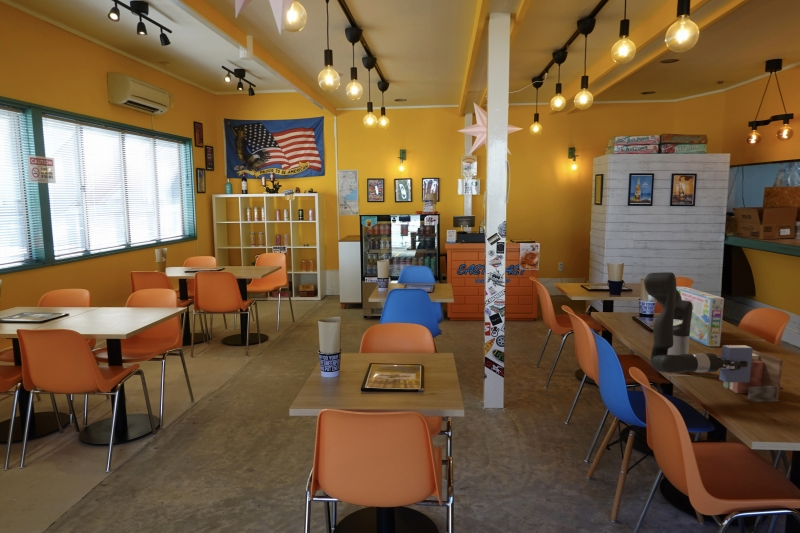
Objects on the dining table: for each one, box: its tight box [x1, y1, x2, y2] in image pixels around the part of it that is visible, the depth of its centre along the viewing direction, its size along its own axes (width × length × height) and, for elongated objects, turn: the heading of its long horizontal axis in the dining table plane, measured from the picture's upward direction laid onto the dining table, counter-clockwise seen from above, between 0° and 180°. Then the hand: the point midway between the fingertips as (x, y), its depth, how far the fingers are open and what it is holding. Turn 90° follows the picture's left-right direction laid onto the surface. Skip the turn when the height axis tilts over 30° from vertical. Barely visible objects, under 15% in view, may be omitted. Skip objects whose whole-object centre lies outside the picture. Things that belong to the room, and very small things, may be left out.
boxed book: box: [718, 344, 754, 383], centre depth 212 cm, size 10×4×14 cm, turn 96°
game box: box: [673, 286, 725, 347], centre depth 306 cm, size 40×7×27 cm, turn 178°
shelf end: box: [722, 349, 784, 403], centre depth 217 cm, size 12×18×16 cm, turn 6°
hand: (742, 362), depth 212 cm, fingers closed on boxed book, 4 cm apart
